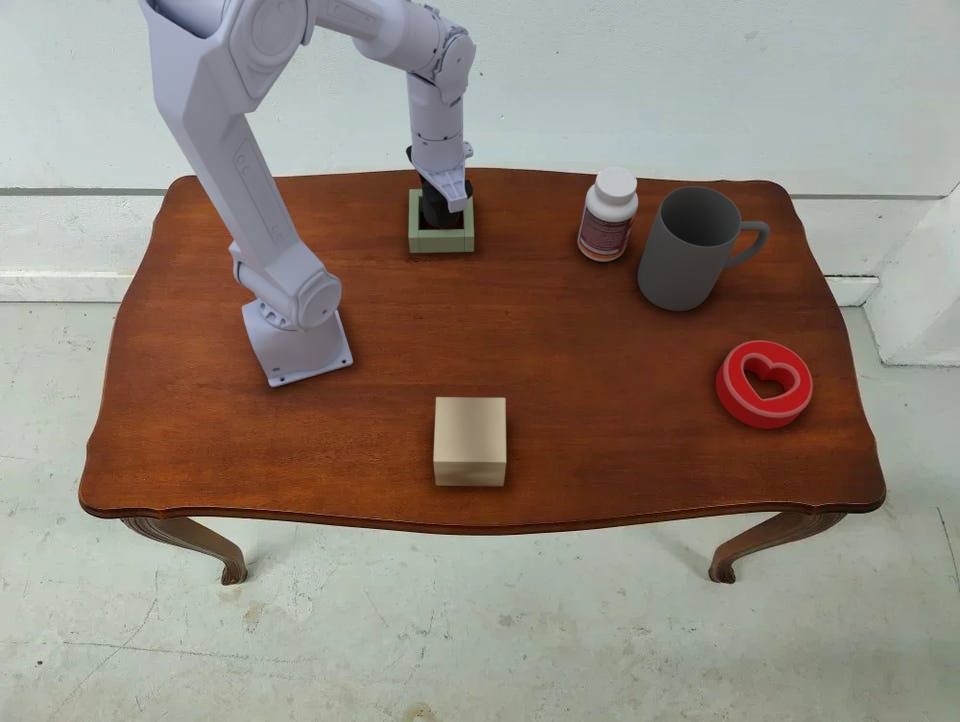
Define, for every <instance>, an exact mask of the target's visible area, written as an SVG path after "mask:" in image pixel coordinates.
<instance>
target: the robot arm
mask: <svg viewBox="0 0 960 722" xmlns="http://www.w3.org/2000/svg"><path fill="white" fill-rule="evenodd" d="M136 1H137V3H138V5H139V7H140V10H141V12H142V14H143V16H144V18H145V20H146V23H147V31H148V41H149V53H150V54H149V55H150V56H149V57H150V67H151V68H150V69H151V79H152V91H153V99H154V100H153V101H154V103H155V106H156V108H157V110H158V113H159V114H160V116H161V118H162V120H163V121H164V124H165V125H166V127H167V128H168V130H169V131H170V132H171V135H172V136H173V138H174V140H175V142H176V144H177V145H178V147H179V149H180V150H181V152H182V153H183V156H184V157H185V159H186V161H187V163H188V164H189V166H190V167H191V169H192V171H193V172H194V174H195V176H196V177H197V179H198V181H199V183H200V184H201V186H202V188H203V189H204V191H205V193H206V194H207V196H208V198H209V199H210V201H211V203H212V205H213V206H214V208H215V210H216V211H217V213H218V215H219V217H220V218H221V220H222V222H223V223H224V225H225V227H226V228H227V231H229V233H230V236H231V237H232V239H233V241H232V242H231V244H230V245H229V247H228V251H229V254H230V255H231V257H232V260H233V269H232V270H233V276H234V279H235V281H236V282H237V283H238V284H239V285H240V286H242V287H243V288H245V289H246V288H247V289H248V290H250V291H251V292H252V293H253V294H254V296H255V298H256V299H254V300H253V301H251V302H248V303H246V304H243V305H242V306H241V312H242V316H243V318H242V319H243V321H244V326H245V329H246V332H247V336H248V338H249V342H250V344H251V347H252V350H253V352H254V354H255V356H256V358H257V360H258V362H259V364H260V365H261V368H262V370H263V372H264V374H265V376H266V378H267V381H268V384H269V386H270V387H271V388H277V387H281V386H285V385H287V384H291V383H294V382H298V381H301V380H305V379H308V378H311V377H316V376H318V375H322V374H325V373H327V372H332V371H335V370H339V369H342V368H345V367H350V366H352V365H353V364H354V359H353V356H352V352H351V349H350V347H349V343H348V339H347V336H346V333H345V330H344V327H343V323H342V320H341V318H340V314H339V311H338V307H339V305H340V302H341V299H342V293H343V285H342V282H341V279H340V278H339V277H338V276H336V275H335V274H333V273H331V272H328V271H327V269H326V266H325V264H324V263H323V262H322V261H321V260H320V259H319V257H318V256H316V254H315V253H314V252H313V251H312V250H311V249H310V248H309V247H308V246H307V245H306V244H305V243H304V241H303V240H302V239H301V238H300V237H301V236H300V235H299V233H298V231H297V228H296V227H295V224H294V222H293V220H292V217H291V215H290V213H289V211H288V208H287V206H286V204H285V202H284V199H283V197H282V195H281V192H280V190H279V189H278V186H277V184H276V182H275V180H274V177H273V175H272V173H271V171H270V168H269V165H268V164H267V161H266V159H265V157H264V155H263V152H262V151H261V148H260V145H259V143H258V141H257V138H256V137H255V135H254V132H253V130H252V128H251V126H250V123H249V121H248V119H247V117H246V115H245V114H250V113H254V112H256V111H257V109H258V108H259V106H260V104H261V103H262V102H263V100H264V99H265V97H266V96H267V94H268V93H269V92H270V90H271V89H272V87H273V86H274V84H275V83H276V81H277V80H278V79H279V77H280V76H281V74H282V73H283V71H284V70H285V69H286V67H287V66H288V64H289V63H290V61H292V58H293V57H294V56H295V54H296V52H297V50H298V48H299V47H300V45H301V46H303V47H306V46H308V45H309V44H310V43H311V39H312V37H313V34H314V30H315V26H316V27H319V28H322V29H323V28H324V29H326V30H329V31H333V32H336V33H339V34H341V35H346V36H349V37H351V40H352V43H353V46H354V47H355V50H356V51H358V53H359V54H360V55H362V56H363V57H365V58H366V59H368V60H371V61H373V62H374V61H375V62H377V63H379V64H380V63H381V64H383V65H386V66H389V67H392V68H395V69H398V70H400V71H404V72H405V78H406V79H405V80H406V89H407V91H406V92H407V101H408V111H409V112H408V114H409V122H410V123H409V124H410V136H411V145H409V146H408V147H406V148H405V153H406V154H405V155H406V156H407V159H408V161H409V162H410V164H411V165H412V166H413V168H414V169H415V170H416V172H417V174H418V178H419V181H420V183H421V186H422V185H423V183H424V182H425V181H426V180H428V181H429V182H430V183H431V184H432V185H431V186H427V187H423V188H422V187H421V189H422V191H423V194H424V196H425V198H426V201H427V202H428V204H429V205H430V206H431V207H432V208H433V210H434V214H435V218H436V221H437V223H438V225H439V227H438V228H439V229H440V230H443V229H445V228H449V227H454V226H456V225H457V222H458V220H459V218H460V216H459V214H460V215H461V212H463V211H462V210H465V209H467V200H468V199H469V198H470V197H471V196H472V197H473V195H474V187H473V184H472V183H471V180H470V179H465V178H466V160H467V159H468V158H472V157H473V156H474V148H473V146H472V145H471V143H470V141H468V140H464V94H465V93H466V92H467V87H468V86H469V74H470V71H471V69H472V67H473V63H474V61H475V57H476V52H477V44H474V42H473V40H472V38H471V37H470V36H469V35H470V33H469V31H468V30H467V28H465V27H464V26H461V25H460V24H458V23H456V22H454V21H453V20H450V19H448V18H446V17H444V16H442V15H440V9H439V8H438V7H436V6H434V5H432V4H430V3H428V2H424V3H423V4H422V3H421V2H415V1H413V0H136ZM458 217H459V218H458ZM457 219H458V220H457Z"/></svg>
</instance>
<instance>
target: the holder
mask: <svg viewBox="0 0 960 722" xmlns="http://www.w3.org/2000/svg"><path fill="white" fill-rule="evenodd" d="M408 194H409V195H408V196H409V197H408V245H409V253H410V254H425V253H426V254H433V253H474V252H475V227H474V225H475V223H474V222H475V221H474V201H473V200H474V199H473V198H474V197H473V195H472V196H471V197H470V198H469V199H468V200H467V209H465V210H462V211H461V212H462V218H463V220H462V222H463V228H461V229H460V228H459V229H455V228H453V229H421V213H424V210H423V196H422V188H417V189H412V188H411V189H409V193H408Z"/></svg>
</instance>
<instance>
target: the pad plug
mask: <svg viewBox="0 0 960 722" xmlns="http://www.w3.org/2000/svg"><path fill="white" fill-rule="evenodd" d="M431 185H432V184H431V183H430V182H429V181H428V180H426V181H425V182H424V183H423V185H422V184H421V189H422V188H423V187H427V186H431ZM422 196H423V210H424V212H423V218H424V220H425V221H426V222H427V224H429V225H430V226H433V227H436V228H440V227H439V225H438V223H437V221H436V218H435V214H434V210H433V208H432V207H431V206H430V205H429V204H428V202H427V201H426V198H425V196H424V194H423V191H422ZM460 215H461V213H460V214H459V217H458V219H457V221H459V218H460Z"/></svg>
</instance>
